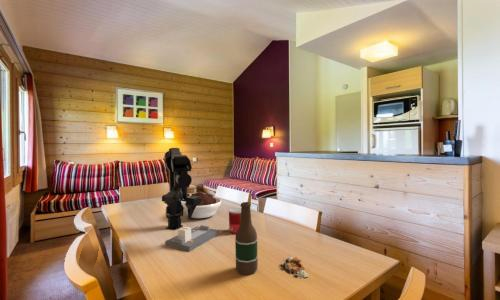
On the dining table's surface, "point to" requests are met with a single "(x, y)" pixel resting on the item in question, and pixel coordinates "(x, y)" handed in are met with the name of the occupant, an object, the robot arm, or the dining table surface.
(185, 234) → the fader tab
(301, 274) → the pastry
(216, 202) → the white serving bowl
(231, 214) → the canned food
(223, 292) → the dining table surface
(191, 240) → the console plate
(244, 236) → the beer bottle
